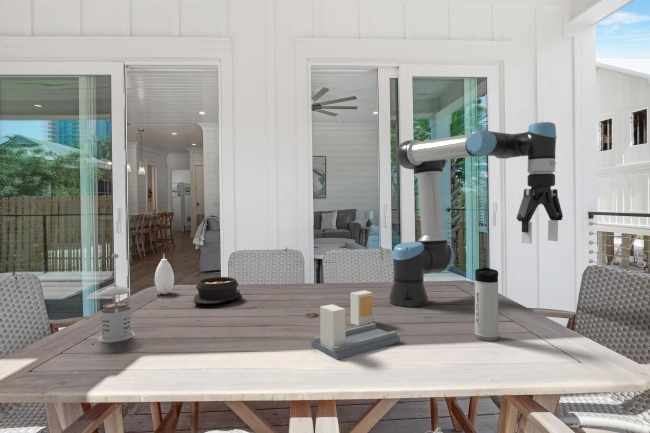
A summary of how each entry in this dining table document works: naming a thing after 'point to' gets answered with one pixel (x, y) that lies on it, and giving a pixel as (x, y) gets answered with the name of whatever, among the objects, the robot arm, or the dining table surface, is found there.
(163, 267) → the bulb air blower
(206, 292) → the casserole
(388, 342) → the rail
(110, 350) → the dining table surface
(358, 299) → the white block orange panel
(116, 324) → the french press
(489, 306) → the travel mug
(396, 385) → the dining table surface
